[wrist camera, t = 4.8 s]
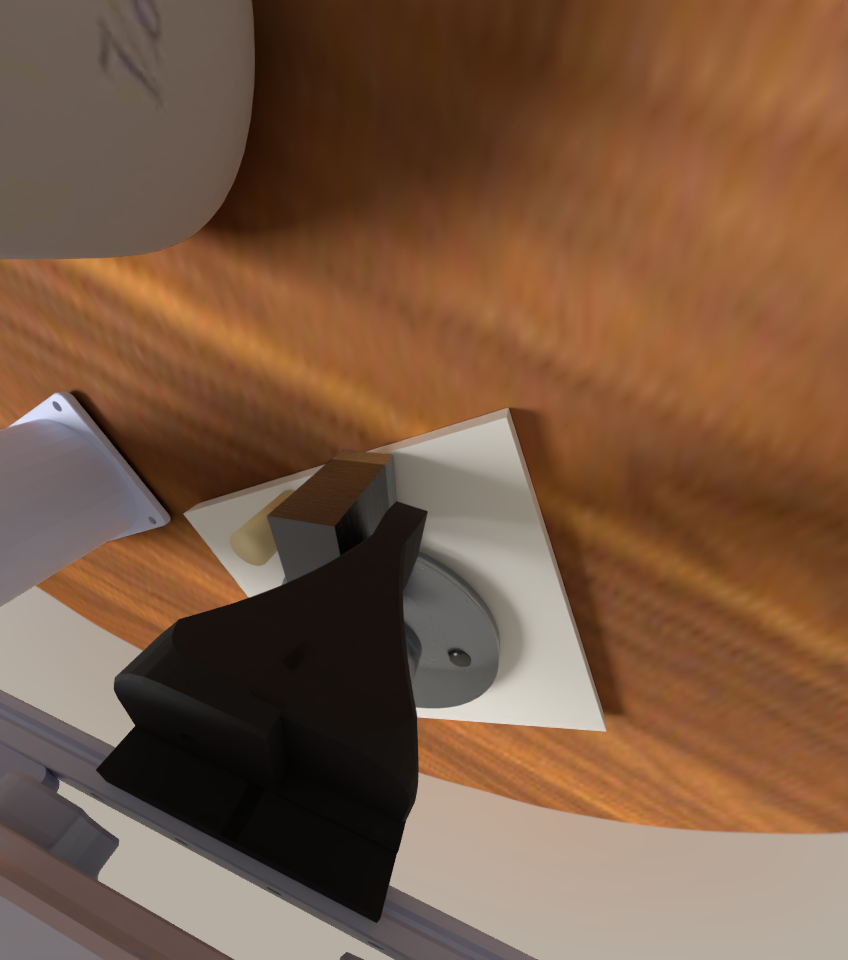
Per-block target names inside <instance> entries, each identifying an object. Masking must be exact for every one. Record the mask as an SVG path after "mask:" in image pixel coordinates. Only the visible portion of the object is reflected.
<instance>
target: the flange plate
mask: <svg viewBox="0 0 848 960" xmlns="http://www.w3.org/2000/svg"><path fill="white" fill-rule="evenodd" d="M396 501H397V495H396V482H395V469H394V457H393V455H392V454H382V453H372V452H362V451H351V450H341V451H340V452H339V453H338V454H337V455H336V456H335V457H333V458H332V459H331V460H330V461H329V462H328V463H327V464H325V465H324V466H323V467H322V468H321V469H320V470H319V471H317V472H316V473H315V474H314V475H313V476H312V477H310V478H309V479H308V480H307V481H306V482H305V483H304V484H302V485H301V486H300V487H299V488H298V489H297V490H296V491H294V492H293V493H292V494H291V495H290V496H289V497H288V498H286V499H285V500H284V501H283V502H282V503H281V504H280V505H278V506H277V507H276V508H275V509H274V510H273V511H272V512H270V513H269V514H268V515H267V519H268V522H269V525H270V528H271V532H272V535H273V538H274V541H275V544H276V548H277V551H278V554H279V557H280V561H281V564H282V567H283V570H284V574H285V577H284V579H283V582H282V585H283V584H285V583H288V582H290V581H292V580H294V579H296V578H299V577H301V576H303V575H305V574H307V573H309V572H311V571H313V570H315V569H317V568H319V567H321V566H323V565H325V564H327V563H328V562H330V561H332V560H334V559H336V558H337V557H339V556H341V555H342V554H344V553H346V552H347V551H349V550H350V549H352V548H353V547H355V546H356V545H358V544H359V543H361V542H363V541H364V540H365V539H367V538H368V537H370V536H371V535H372V534H373V533H374V531H375V530H376V528H377V526H378V524H379V523H380V521H381V519H382V518H383V516H384V514H385V513H386V511H387V510H388V509H389V508H390V507H391V506H392V505H393V504H394V503H395V502H396ZM403 610H404V626H405V637H406V647H407V656H408V663H409V670H410V678H411V683H412V689H413V695H414V701H415V706H416V707H417V708H437V709H439V708H450V707H455V706H460V705H463V704H466V703H469V702H471V701H473V700H475V699H477V698H479V697H480V696H481V695H482V694H484V693H485V692H486V691H487V690H488V689H489V688H490V686H491V685H492V684H493V682H494V680H495V678H496V676H497V672H498V668H499V658H500V636H499V630H498V627H497V624H496V622H495V619H494V617H493V615H492V613H491V611H490V610H489V608H488V606H487V605H486V603H485V602H484V601H483V599H482V598H481V597H480V595H479V594H478V593H477V592H476V591H475V590H474V589H473V588H472V587H471V586H470V585H469V584H468V583H467V582H466V581H465V580H464V579H463V578H461V577H460V576H459V575H458V574H457V573H455V572H454V571H453V570H451V569H450V568H448V567H447V566H445V565H444V564H442V563H441V562H439V561H437V560H435V559H434V558H432V557H430V556H428V555H426V554H424V553H422V552H419V553H418V557H417V560H416V562H415V565H414V567H413V570H412V573H411V575H410V578H409V580H408V583H407V585H406V587H405V589H404V591H403Z"/></svg>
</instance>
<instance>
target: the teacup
mask: <svg viewBox="0 0 848 960" xmlns="http://www.w3.org/2000/svg"><path fill="white" fill-rule="evenodd" d="M254 78H255V43H254V17H253V8H252V0H0V259H79V258H108V257H122V256H132V255H141V254H146V253H151V252H155V251H159V250H162V249H165V248H168V247H170V246H173V245H176V244H178V243H181V242H183V241H184V240H186V239H188V238H189V237H191V236H192V235H194V234H195V233H196V232H197V231H199V230H200V229H201V228H202V227H203V226H204V225H206V224H207V222H208V221H209V220H210V219H211V218H212V217H213V215H214V214H215V213H216V212H217V211H218V209H219V208H220V207H221V206H222V204H223V202H224V200H225V198H226V196H227V194H228V193H229V191H230V189H231V187H232V185H233V183H234V180H235V178H236V175H237V173H238V170H239V167H240V164H241V161H242V158H243V155H244V151H245V146H246V141H247V136H248V131H249V126H250V121H251V112H252V102H253V92H254Z"/></svg>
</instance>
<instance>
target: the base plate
mask: <svg viewBox="0 0 848 960" xmlns="http://www.w3.org/2000/svg"><path fill="white" fill-rule="evenodd" d="M366 452H372V453H382V454H392V455H393V457H394V469H395V482H396V495H397V501H398V502H401V503H404V504H407V505H410V506H413V507H416V508H420V509H423V510H426V511H428V513H427V518H426V522H425V526H424V531H423V535H422V540H421V544H420V549H419V552H422V553H424V554H426V555H428V556H430V557H432V558H434V559H435V560H437V561H439V562H441V563H442V564H444V565H445V566H447V567H448V568H450V569H451V570H453V571H454V572H455V573H457V574H458V575H459V576H460V577H461V578H463V579H464V580H465V581H466V582H467V583H468V584H469V585H470V586H471V587H472V588H473V589H474V590H475V591H476V592H477V593H478V594H479V595H480V597H481V598H482V599H483V601H484V602H485V603H486V605H487V606H488V608H489V610H490V611H491V613H492V615H493V617H494V619H495V622H496V624H497V627H498V630H499V636H500V658H499V668H498V672H497V676H496V678H495V680H494V682H493V684H492V685H491V686H490V688H489V689H488V690H487V691H486V692H485V693H484V694H482V695H481V696H480V697H479V698H477V699H475V700H473V701H471V702H469V703H466V704H463V705H460V706H455V707H450V708H439V709H437V708H417V707H416V711H417V717H422V718H435V719H449V720H462V721H475V722H488V723H501V724H515V725H528V726H541V727H554V728H567V729H581V730H594V731H606V727H605V721H604V715H603V709H602V706H601V703H600V700H599V696H598V693H597V690H596V687H595V684H594V680H593V677H592V674H591V671H590V668H589V664H588V661H587V658H586V655H585V652H584V648H583V645H582V642H581V639H580V636H579V632H578V629H577V626H576V623H575V619H574V616H573V613H572V610H571V607H570V603H569V600H568V597H567V594H566V591H565V587H564V584H563V581H562V578H561V575H560V571H559V568H558V565H557V562H556V559H555V555H554V552H553V549H552V546H551V542H550V539H549V536H548V533H547V530H546V526H545V523H544V520H543V517H542V514H541V510H540V507H539V504H538V501H537V498H536V494H535V491H534V488H533V485H532V482H531V478H530V475H529V472H528V469H527V465H526V462H525V459H524V456H523V453H522V449H521V446H520V443H519V440H518V437H517V433H516V430H515V427H514V424H513V421H512V417H511V414H510V411H509V408H505V409H502V410H499V411H496V412H493V413H489V414H486V415H483V416H480V417H476V418H473V419H470V420H467V421H463V422H460V423H457V424H454V425H450V426H447V427H444V428H441V429H437V430H434V431H431V432H428V433H425V434H421V435H418V436H415V437H412V438H408V439H405V440H402V441H399V442H395V443H392V444H389V445H386V446H382V447H379V448H376V449H373V450H369V451H366ZM324 465H325V464H324ZM324 465H321V466H318V467H314V468H311V469H308V470H305V471H301V472H298V473H295V474H292V475H288V476H285V477H282V478H279V479H276V480H272V481H269V482H266V483H263V484H259V485H256V486H253V487H250V488H246V489H243V490H240V491H237V492H233V493H230V494H227V495H224V496H220V497H217V498H214V499H211V500H208V501H204V502H201V503H198V504H197V505H195V506H194V507H192V508H191V509H189V510H188V511H186V512H185V513H183V514H184V516H185V517H186V518H187V519H188V521H189V522H190V523H191V525H192V526H193V527H194V528H195V530H196V531H197V532H198V533H199V535H200V536H201V537H202V539H203V540H204V541H205V542H206V544H207V545H208V546H209V547H210V549H211V550H212V551H213V553H214V554H215V555H216V556H217V558H218V559H219V560H220V561H221V563H222V564H223V565H224V567H225V568H226V569H227V570H228V572H229V573H230V574H231V575H232V577H233V578H234V579H235V581H236V582H237V583H238V584H239V586H240V587H241V588H242V589H243V591H244V592H245V593H246V595H247V596H248V597H249V598H250V597H252V596H255V595H257V594H260V593H263V592H265V591H268V590H271V589H273V588H276V587H278V586H281V585H282V582H283V579H284V577H285V574H284V570H283V567H282V564H281V561H280V557H279V554H278V551H277V548H276V544H275V541H274V538H273V535H272V532H271V528H270V525H269V522H268V519H267V515H268V514H269V513H270V512H272V511H273V510H274V509H275V508H276V507H277V506H278V505H280V504H281V503H282V502H283V501H284V500H285V499H286V498H288V497H289V496H290V495H291V494H292V493H293V492H294V491H296V490H297V489H298V488H299V487H300V486H301V485H302V484H304V483H305V482H306V481H307V480H308V479H309V478H310V477H312V476H313V475H314V474H315V473H316V472H317V471H319V470H320V469H321V468H322V467H323V466H324Z"/></svg>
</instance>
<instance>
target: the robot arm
mask: <svg viewBox="0 0 848 960" xmlns="http://www.w3.org/2000/svg"><path fill="white" fill-rule="evenodd" d="M427 513H428V511H426V510H423V509H420V508H416V507H413V506H410V505H407V504H404V503H401V502H398V501H396V502H395V503H394V504H393V505H392V506H391V507H390V508H389V509H388V510H387V511H386V513H385V514H384V516H383V518H382V519H381V521H380V523H379V524H378V526H377V528H376V530H375V531H374V533H373V534H372V535H371V536H370V537H368V538H367V539H365V540H364V541H363V542H361V543H359V544H358V545H356V546H355V547H353V548H352V549H350V550H349V551H347V552H346V553H344V554H342V555H341V556H339V557H337V558H336V559H334V560H332V561H330V562H328V563H327V564H325V565H323V566H321V567H319V568H317V569H315V570H313V571H311V572H309V573H307V574H305V575H303V576H301V577H299V578H296V579H294V580H292V581H290V582H288V583H285V584H283V585H281V586H278V587H276V588H273V589H271V590H268V591H265V592H263V593H260V594H257V595H255V596H252V597H250V598H247V599H244V600H241V601H239V602H236V603H233V604H230V605H226V606H223V607H220V608H216V609H213V610H209V611H206V612H203V613H199V614H196V615H193V616H189V617H185V618H181V619H179V620H178V621H177V622H175V623H174V624H173V625H172V626H171V627H169V628H168V629H167V630H166V631H164V632H163V633H162V634H161V635H160V636H159V637H158V638H156V639H155V640H154V641H153V642H152V643H151V644H150V645H149V646H148V647H147V648H146V649H145V650H144V651H143V652H142V653H141V654H140V655H138V656H137V657H136V658H135V659H134V660H133V661H132V662H131V663H130V664H129V665H128V666H127V667H126V668H125V669H124V670H122V671H121V672H120V673H119V674H118V675H117V676H116V677H115V682H114V691H115V693H116V695H117V697H118V699H119V701H120V702H121V704H122V705H123V707H124V708H125V710H126V711H127V713H128V715H129V716H130V718H131V719H132V721H133V723H134V724H135V727H134V728H133V729H132V730H131V731H130V732H129V733H128V735H127V736H126V737H125V738H124V739H123V740H122V741H121V742H120V744H119V745H118V746H117V747H116V748H115V747H113V746H111V745H109V744H107V743H105V742H103V741H101V740H99V739H97V738H95V737H93V736H91V735H89V734H87V733H85V732H83V731H81V730H79V729H77V728H75V727H73V726H71V725H69V724H67V723H65V722H64V721H61V720H60V719H57V718H56V717H54V716H52V715H50V714H48V713H46V712H44V711H42V710H40V709H38V708H36V707H34V706H32V705H30V704H28V703H26V702H24V701H22V700H20V699H18V698H16V697H14V696H12V695H10V694H8V693H6V692H4V691H2V690H0V960H234V959H232V958H231V957H229V956H227V955H225V954H224V953H222V952H220V951H218V950H217V949H215V948H213V947H212V946H210V945H208V944H206V943H205V942H203V941H201V940H199V939H198V938H196V937H194V936H193V935H191V934H189V933H187V932H186V931H183V930H182V929H180V928H179V927H177V926H175V925H174V924H172V923H170V922H168V921H167V920H165V919H163V918H162V917H160V916H158V915H156V914H155V913H153V912H151V911H149V910H147V909H146V908H144V907H143V906H141V905H139V904H137V903H136V902H134V901H132V900H130V899H129V898H127V897H125V896H124V895H122V894H120V893H118V892H116V891H115V890H113V889H111V888H110V887H108V886H106V885H105V884H103V883H101V882H99V881H98V874H99V871H100V870H101V868H102V867H103V866H104V864H105V863H106V862H107V860H108V859H109V858H110V856H111V855H112V854H113V852H114V851H115V850H116V848H117V847H118V845H119V839H118V838H116V837H115V836H114V835H112V834H111V833H109V832H108V831H107V830H105V829H104V828H102V827H101V826H100V825H99V824H98V823H96V822H95V821H94V820H93V819H91V818H90V817H89V816H88V815H87V814H86V813H85V812H84V810H83V809H82V808H80V807H78V806H77V805H75V804H74V803H72V802H70V801H69V800H67V799H66V798H64V797H62V796H61V795H59V794H58V793H57V791H58V789H59V780H61V781H63V782H65V783H66V784H68V785H70V786H72V787H74V788H76V789H78V790H79V791H81V792H83V793H85V794H87V795H89V796H91V797H93V798H94V799H96V800H98V801H100V802H102V803H104V804H106V805H107V806H109V807H111V808H113V809H115V810H117V811H119V812H121V813H122V814H124V815H126V816H128V817H130V818H132V819H134V820H135V821H137V822H139V823H141V824H143V825H145V826H147V827H149V828H150V829H152V830H154V831H156V832H158V833H160V834H162V835H163V836H165V837H167V838H169V839H171V840H173V841H175V842H177V843H178V844H180V845H182V846H184V847H186V848H188V849H190V850H191V851H194V852H195V853H197V854H199V855H201V856H203V857H205V858H206V859H208V860H210V861H212V862H214V863H216V864H218V865H219V866H221V867H223V868H225V869H227V870H229V871H231V872H233V873H235V874H236V875H238V876H240V877H242V878H244V879H246V880H247V881H249V882H251V883H253V884H255V885H257V886H259V887H260V888H262V889H264V890H266V891H268V892H270V893H272V894H274V895H275V896H277V897H279V898H281V899H283V900H285V901H287V902H289V903H290V904H292V905H294V906H296V907H298V908H300V909H302V910H304V911H305V912H307V913H309V914H311V915H313V916H315V917H317V918H318V919H320V920H322V921H324V922H326V923H328V924H330V925H331V926H333V927H335V928H337V929H339V930H341V931H343V932H344V933H346V934H348V935H350V936H352V937H354V938H356V939H358V940H359V941H361V942H363V943H365V944H367V945H369V946H371V947H373V948H375V949H376V950H378V951H380V952H382V953H384V954H386V955H387V956H389V957H391V958H393V959H395V960H537V959H535V958H533V957H531V956H529V955H527V954H525V953H523V952H521V951H519V950H517V949H515V948H513V947H511V946H509V945H507V944H505V943H503V942H501V941H499V940H497V939H495V938H493V937H491V936H489V935H487V934H485V933H483V932H481V931H480V930H478V929H475V928H474V927H472V926H470V925H468V924H466V923H464V922H462V921H460V920H458V919H456V918H454V917H452V916H450V915H448V914H446V913H444V912H442V911H440V910H437V909H436V908H434V907H432V906H430V905H428V904H426V903H424V902H422V901H420V900H418V899H416V898H414V897H412V896H410V895H408V894H406V893H404V892H402V891H400V890H398V889H396V888H394V887H392V886H390V885H389V882H390V878H391V875H392V871H393V867H394V863H395V858H396V855H397V853H398V850H399V847H400V843H401V839H402V834H403V831H404V827H405V823H406V819H407V817H408V815H409V813H410V811H411V809H412V807H413V805H414V803H415V799H416V794H417V787H418V735H417V711H416V706H415V701H414V695H413V689H412V683H411V678H410V670H409V663H408V656H407V647H406V637H405V626H404V610H403V591H404V589H405V587H406V585H407V583H408V580H409V578H410V575H411V573H412V570H413V567H414V565H415V562H416V560H417V557H418V553H419V549H420V544H421V540H422V535H423V531H424V526H425V522H426V518H427ZM169 522H170V516H169V514H168V513H167V512H166V510H165V509H164V508H163V507H162V505H161V504H160V503H159V502H158V500H157V499H156V498H155V497H154V495H153V494H152V493H151V492H150V490H149V489H148V488H147V487H146V485H145V484H144V483H143V482H142V481H141V479H140V478H139V477H138V476H137V474H136V473H135V472H134V471H133V469H132V468H131V467H130V466H129V464H128V463H127V462H126V461H125V459H124V458H123V457H122V456H121V454H120V453H119V452H118V451H117V449H116V448H115V447H114V446H113V444H112V443H111V442H110V441H109V440H108V438H107V437H106V436H105V435H104V433H103V432H102V431H101V430H100V428H99V427H98V426H97V425H96V423H95V422H94V421H93V420H92V418H91V417H90V416H89V415H88V413H87V412H86V411H85V410H84V408H83V407H82V406H81V405H80V403H79V402H78V401H77V400H76V399H75V397H74V396H73V395H71V394H70V393H68V392H66V391H63V392H58V393H55V394H53V395H52V396H50V397H49V398H48V399H46V400H45V401H44V402H42V403H41V404H39V405H38V406H37V407H35V408H34V409H33V410H31V411H30V412H28V413H27V414H26V415H24V416H23V417H22V418H20V419H19V420H17V421H16V422H15V423H13V424H12V425H11V426H9V427H8V428H4V429H0V607H1V606H3V605H4V604H6V603H7V602H9V601H11V600H12V599H14V598H16V597H17V596H19V595H21V594H22V593H24V592H25V591H27V590H29V589H31V588H32V587H34V586H35V585H37V584H39V583H40V582H42V581H44V580H45V579H47V578H49V577H50V576H52V575H54V574H55V573H57V572H58V571H60V570H62V569H63V568H65V567H67V566H68V565H70V564H72V563H73V562H75V561H77V560H78V559H80V558H82V557H83V556H85V555H86V554H88V553H90V552H91V551H93V550H95V549H96V548H98V547H100V546H101V545H103V544H105V543H106V542H108V541H112V540H115V539H119V538H122V537H126V536H129V535H133V534H136V533H140V532H143V531H147V530H150V529H154V528H157V527H161V526H164V525H166V524H167V523H169ZM58 779H59V780H58ZM340 960H364V959H361V958H359V957H357V956H355V955H352V954H350V953H348V952H346V953H345V954H344V955H343V956H341V958H340Z"/></svg>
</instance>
